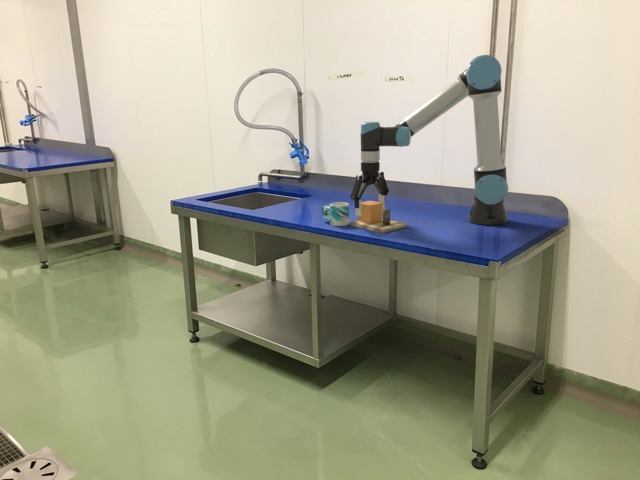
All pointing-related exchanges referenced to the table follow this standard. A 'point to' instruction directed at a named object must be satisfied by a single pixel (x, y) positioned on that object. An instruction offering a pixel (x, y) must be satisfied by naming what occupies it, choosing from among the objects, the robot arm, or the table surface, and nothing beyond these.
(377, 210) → the wooden block
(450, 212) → the table surface
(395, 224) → the board
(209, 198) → the table surface
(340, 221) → the mug
